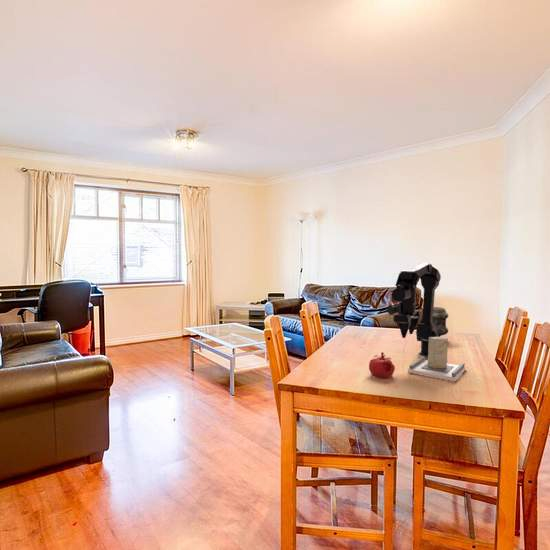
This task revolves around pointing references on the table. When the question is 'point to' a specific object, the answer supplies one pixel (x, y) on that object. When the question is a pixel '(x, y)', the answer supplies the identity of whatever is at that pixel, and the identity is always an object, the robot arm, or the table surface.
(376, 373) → the pomegranate
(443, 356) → the skincare box
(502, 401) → the table surface
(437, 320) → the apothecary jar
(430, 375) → the stand
